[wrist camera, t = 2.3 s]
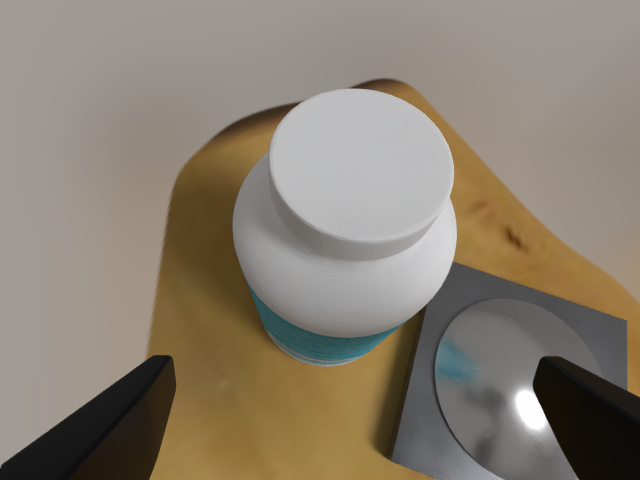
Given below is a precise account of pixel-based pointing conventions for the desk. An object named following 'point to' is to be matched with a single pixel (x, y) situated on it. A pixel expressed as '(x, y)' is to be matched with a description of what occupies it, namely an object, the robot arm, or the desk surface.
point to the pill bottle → (346, 224)
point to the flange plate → (494, 378)
